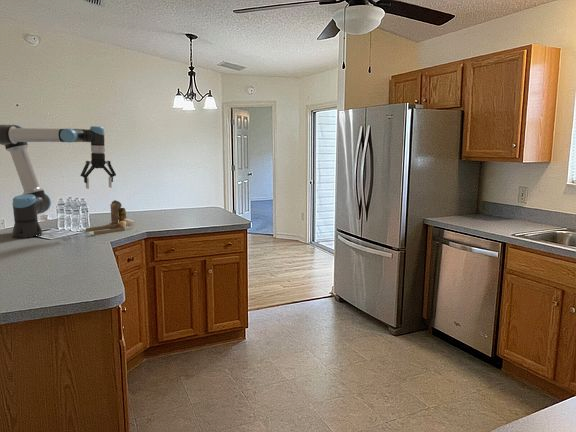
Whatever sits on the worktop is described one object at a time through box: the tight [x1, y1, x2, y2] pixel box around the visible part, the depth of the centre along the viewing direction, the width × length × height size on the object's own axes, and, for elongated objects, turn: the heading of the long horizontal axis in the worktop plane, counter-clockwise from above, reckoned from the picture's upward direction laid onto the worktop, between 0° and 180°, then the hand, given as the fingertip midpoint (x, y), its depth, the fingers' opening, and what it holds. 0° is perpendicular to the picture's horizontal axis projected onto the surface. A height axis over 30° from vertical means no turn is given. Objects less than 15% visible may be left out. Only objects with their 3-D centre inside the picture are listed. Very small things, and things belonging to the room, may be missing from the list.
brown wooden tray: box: [85, 218, 138, 237], centre depth 268 cm, size 25×17×6 cm
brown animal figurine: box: [111, 200, 128, 222], centre depth 287 cm, size 9×14×18 cm, turn 2°
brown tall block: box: [108, 203, 121, 229], centre depth 268 cm, size 4×7×16 cm, turn 44°
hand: (99, 188), depth 268 cm, fingers open, 13 cm apart
